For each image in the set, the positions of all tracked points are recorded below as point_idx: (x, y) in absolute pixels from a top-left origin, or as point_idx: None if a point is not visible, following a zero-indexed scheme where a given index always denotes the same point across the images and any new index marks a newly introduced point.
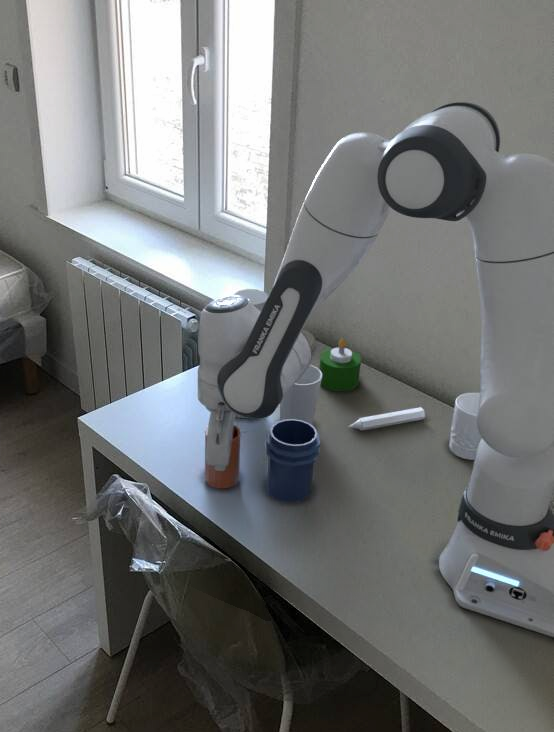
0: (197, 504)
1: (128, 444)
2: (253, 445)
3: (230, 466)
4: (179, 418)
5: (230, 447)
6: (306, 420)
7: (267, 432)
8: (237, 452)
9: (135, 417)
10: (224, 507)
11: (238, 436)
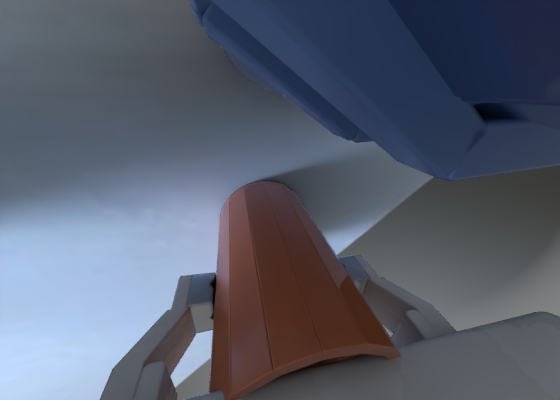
0: (346, 244)
1: (182, 368)
2: (45, 148)
3: (325, 238)
4: (23, 345)
5: (555, 380)
6: None
7: (439, 168)
8: (326, 257)
9: (80, 392)
10: (361, 197)
11: (367, 348)
